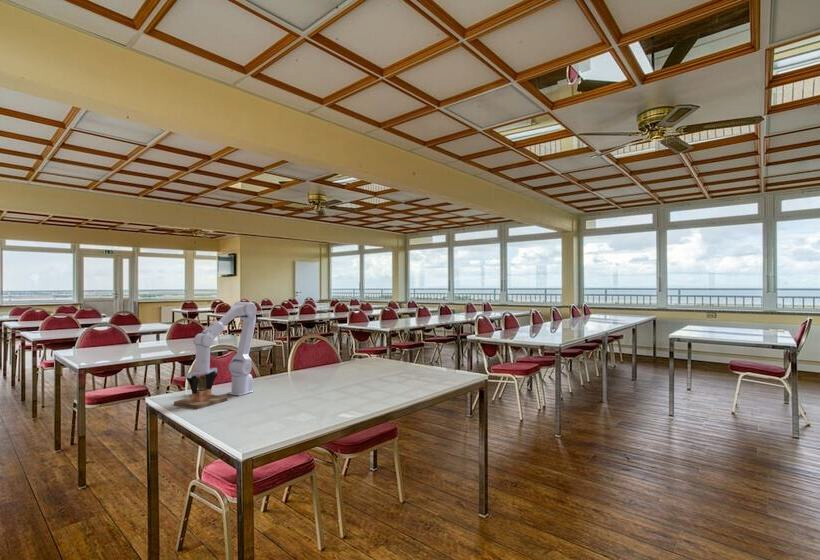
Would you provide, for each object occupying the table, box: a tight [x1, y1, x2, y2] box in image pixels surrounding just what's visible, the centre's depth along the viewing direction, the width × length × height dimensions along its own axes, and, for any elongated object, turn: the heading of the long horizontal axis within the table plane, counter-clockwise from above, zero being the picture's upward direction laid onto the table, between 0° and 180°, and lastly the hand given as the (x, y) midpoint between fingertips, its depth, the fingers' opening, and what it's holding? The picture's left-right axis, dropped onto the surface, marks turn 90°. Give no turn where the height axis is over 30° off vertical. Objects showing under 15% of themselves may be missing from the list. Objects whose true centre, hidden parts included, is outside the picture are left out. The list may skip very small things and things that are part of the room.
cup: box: [197, 375, 207, 389], centre depth 203 cm, size 8×7×8 cm
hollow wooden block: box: [191, 388, 212, 401], centre depth 187 cm, size 5×5×4 cm
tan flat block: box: [173, 389, 229, 410], centre depth 187 cm, size 16×14×6 cm
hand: (201, 391), depth 187 cm, fingers open, 7 cm apart
